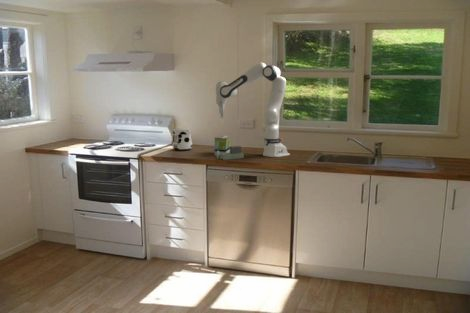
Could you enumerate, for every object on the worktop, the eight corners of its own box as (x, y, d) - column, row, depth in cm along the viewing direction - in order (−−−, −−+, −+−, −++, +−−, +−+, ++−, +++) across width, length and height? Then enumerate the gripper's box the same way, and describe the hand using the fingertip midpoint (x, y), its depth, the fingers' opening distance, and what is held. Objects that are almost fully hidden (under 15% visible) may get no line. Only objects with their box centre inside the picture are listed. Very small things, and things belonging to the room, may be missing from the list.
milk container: (193, 148, 407) (192, 128, 403) (191, 151, 390) (191, 130, 386) (173, 148, 406) (173, 128, 403) (171, 151, 389) (170, 130, 386)
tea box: (226, 156, 368) (226, 138, 365) (214, 155, 370) (214, 137, 367) (230, 152, 382) (230, 135, 379) (218, 152, 384) (218, 135, 381)
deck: (238, 156, 367) (238, 145, 365) (243, 157, 359) (243, 146, 358) (216, 158, 357) (216, 147, 356) (221, 160, 350) (221, 148, 348)
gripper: (224, 101, 372) (225, 118, 374) (225, 100, 392) (225, 117, 394) (217, 101, 372) (217, 118, 374) (217, 101, 392) (218, 117, 394)
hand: (221, 117), depth 384 cm, fingers closed
